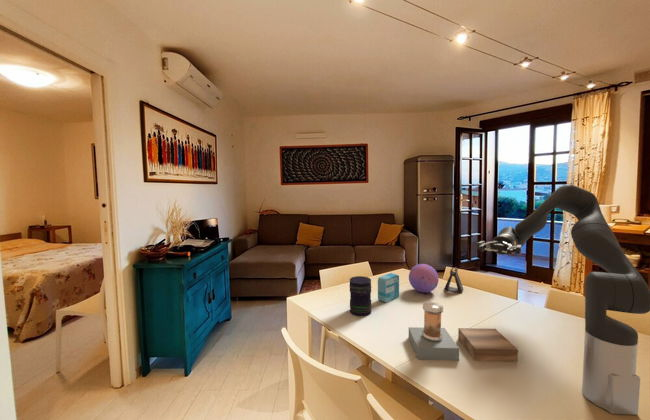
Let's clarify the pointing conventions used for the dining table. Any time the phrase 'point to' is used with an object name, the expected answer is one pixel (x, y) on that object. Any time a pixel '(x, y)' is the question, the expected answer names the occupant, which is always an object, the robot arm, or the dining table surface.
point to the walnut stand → (487, 344)
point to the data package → (388, 287)
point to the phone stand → (458, 282)
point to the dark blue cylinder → (360, 296)
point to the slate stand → (433, 346)
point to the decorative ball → (423, 278)
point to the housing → (432, 321)
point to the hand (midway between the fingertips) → (494, 250)
